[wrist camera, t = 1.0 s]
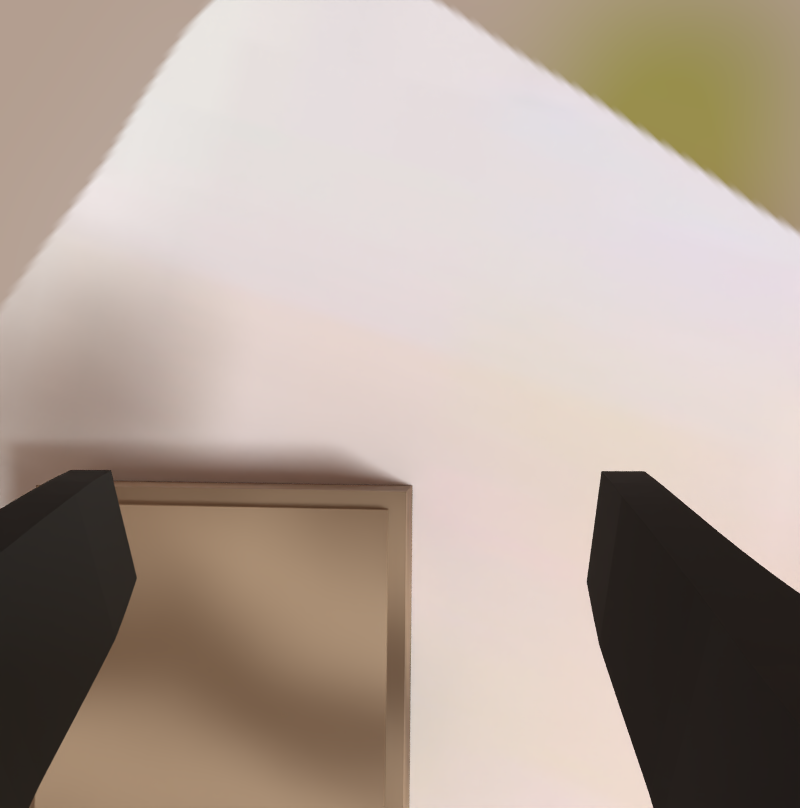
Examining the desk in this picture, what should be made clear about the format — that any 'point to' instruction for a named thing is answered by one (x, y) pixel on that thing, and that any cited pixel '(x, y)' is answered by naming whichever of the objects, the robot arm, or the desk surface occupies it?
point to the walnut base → (252, 654)
